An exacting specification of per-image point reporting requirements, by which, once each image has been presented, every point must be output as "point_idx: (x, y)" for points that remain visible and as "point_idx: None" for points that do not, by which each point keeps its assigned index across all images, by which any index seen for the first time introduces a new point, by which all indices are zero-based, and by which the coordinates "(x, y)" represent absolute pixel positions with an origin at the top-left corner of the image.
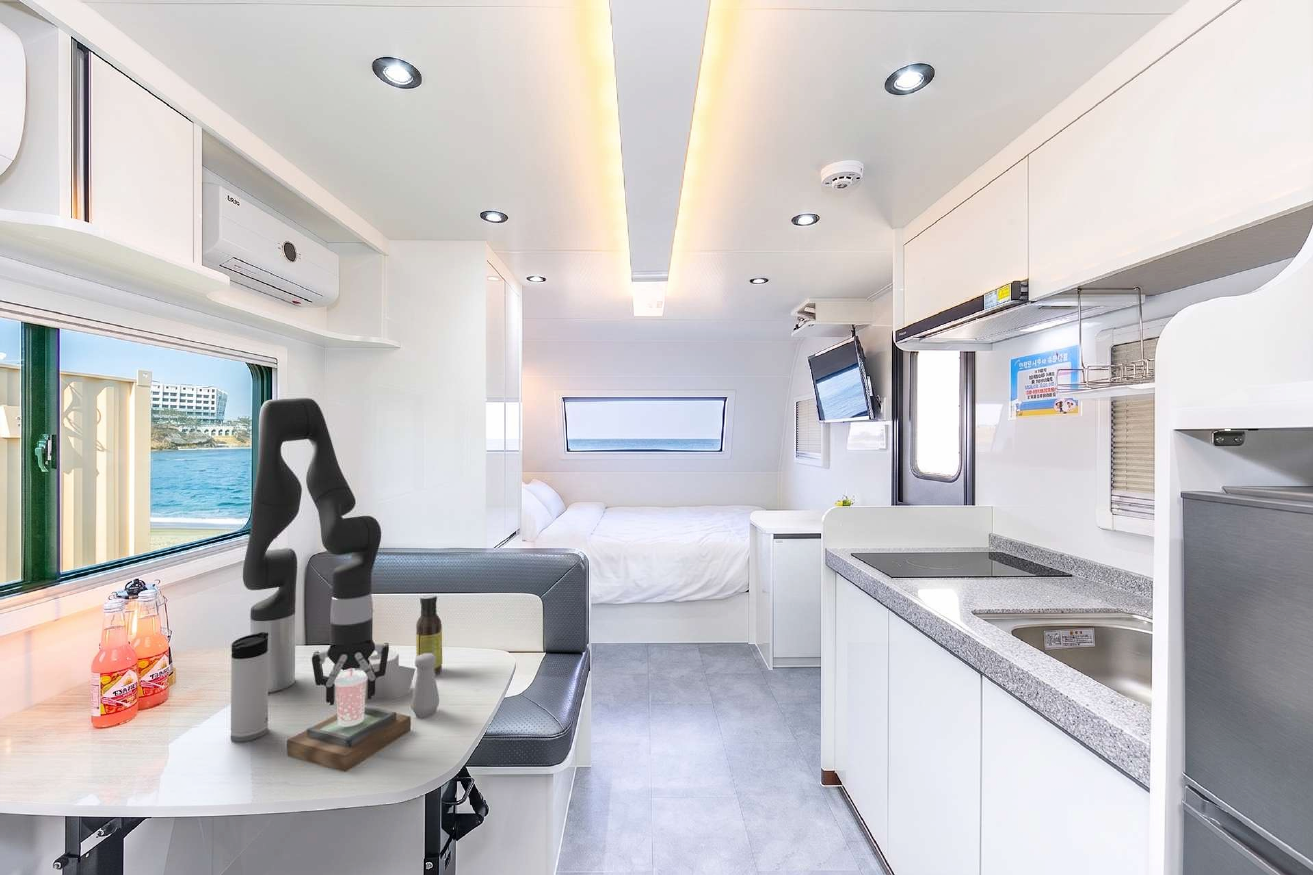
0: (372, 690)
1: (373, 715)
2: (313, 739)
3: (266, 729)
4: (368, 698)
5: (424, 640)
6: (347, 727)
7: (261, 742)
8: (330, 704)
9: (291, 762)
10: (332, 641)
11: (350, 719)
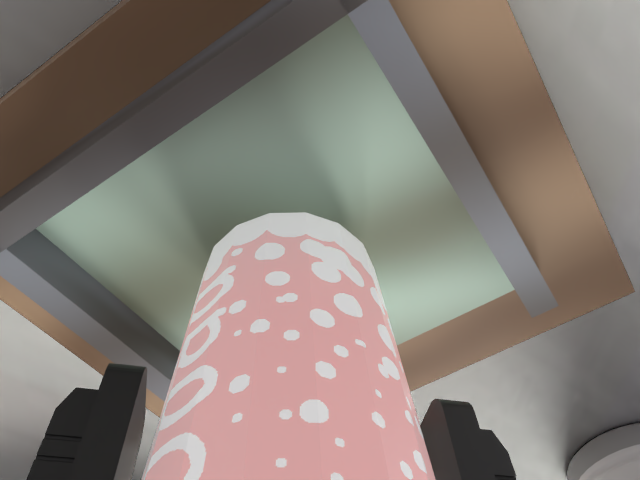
0: (74, 439)
1: (143, 322)
2: (523, 222)
3: (585, 459)
4: (134, 369)
5: None
6: None
7: (622, 393)
8: (468, 404)
9: (604, 156)
10: None
11: (306, 242)
